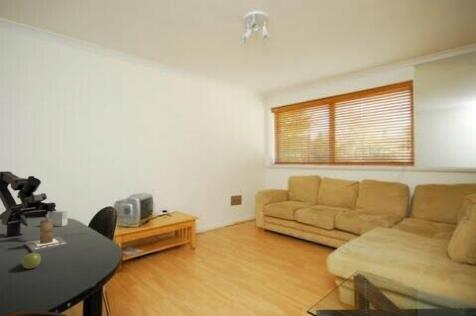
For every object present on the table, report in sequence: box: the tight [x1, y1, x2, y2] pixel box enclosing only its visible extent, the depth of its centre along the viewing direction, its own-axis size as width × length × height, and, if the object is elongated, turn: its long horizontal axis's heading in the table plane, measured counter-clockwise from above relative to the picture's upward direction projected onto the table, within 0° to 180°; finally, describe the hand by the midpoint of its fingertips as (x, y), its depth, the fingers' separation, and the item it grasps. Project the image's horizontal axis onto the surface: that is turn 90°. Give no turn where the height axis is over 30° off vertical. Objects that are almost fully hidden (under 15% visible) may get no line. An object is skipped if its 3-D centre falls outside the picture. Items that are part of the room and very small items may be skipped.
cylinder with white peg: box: [39, 214, 54, 244], centre depth 120 cm, size 5×5×13 cm
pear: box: [21, 252, 42, 270], centre depth 96 cm, size 6×5×10 cm
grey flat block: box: [25, 236, 69, 253], centre depth 119 cm, size 16×13×1 cm
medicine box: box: [50, 210, 68, 227], centre depth 157 cm, size 8×4×9 cm, turn 84°
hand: (38, 223), depth 124 cm, fingers open, 9 cm apart
